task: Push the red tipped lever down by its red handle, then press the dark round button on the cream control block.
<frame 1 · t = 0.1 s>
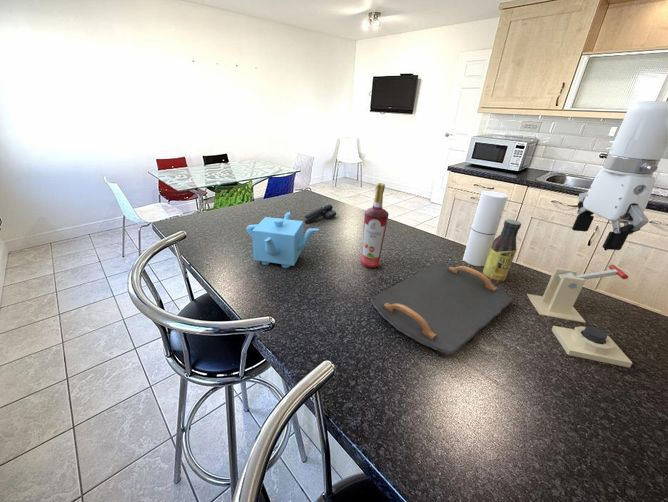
hand: (594, 239, 68), 23 cm above the kitchen island, tool pointing down, fingers open, 9 cm apart
dark round button: (594, 335, 65), point 4 cm above the kitchen island, slide at 0.1 cm
cylindrical container: (473, 263, 102), on the kitchen island
serving tray: (440, 307, 80), on the kitchen island
liquor: (369, 265, 99), on the kitchen island
red tipped lever: (589, 276, 74), point 12 cm above the kitchen island, hinge at 25.0°
teakettle: (281, 259, 102), on the kitchen island
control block: (586, 350, 67), on the kitchen island
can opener: (319, 219, 136), on the kitchen island
sauce bottle: (492, 280, 93), on the kitchen island
cream upright bracket stand: (552, 310, 80), on the kitchen island
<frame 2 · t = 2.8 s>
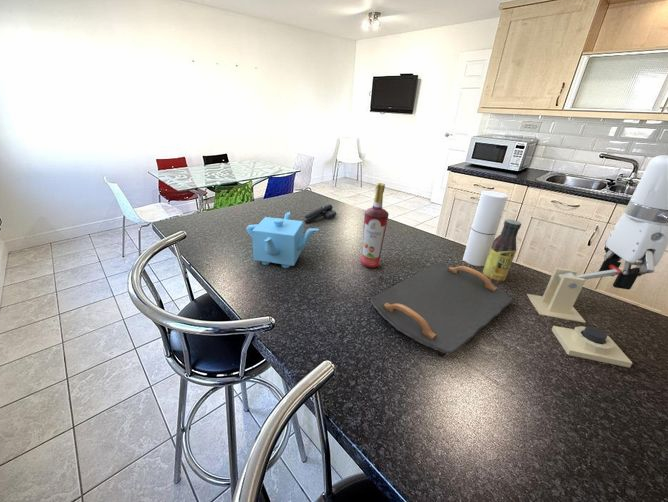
hand: (613, 280, 73), 12 cm above the kitchen island, tool pointing down, fingers closed on red tipped lever, 5 cm apart
red tipped lever: (589, 276, 74), point 12 cm above the kitchen island, hinge at 25.0°, touching gripper
everything else where it was.
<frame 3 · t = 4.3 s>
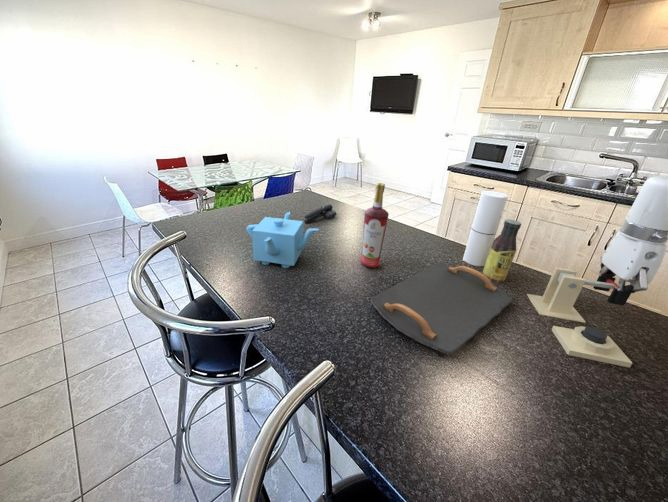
hand: (607, 295, 74), 7 cm above the kitchen island, tool pointing down, fingers closed on red tipped lever, 5 cm apart
red tipped lever: (588, 282, 74), point 10 cm above the kitchen island, hinge at 0.4°, touching gripper
everything else where it was.
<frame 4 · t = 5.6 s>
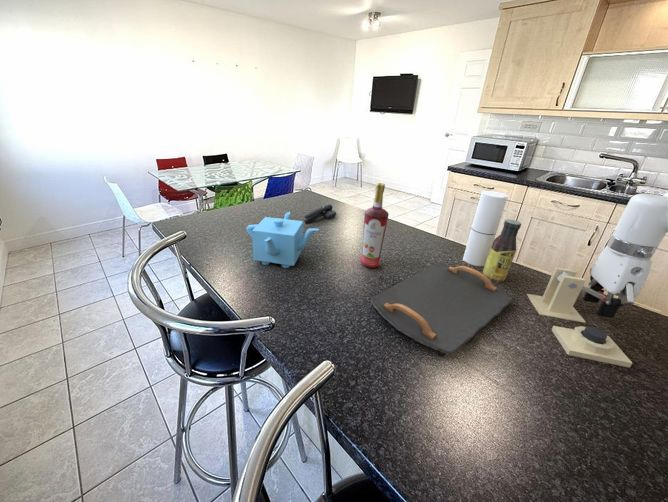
hand: (597, 307, 76), 3 cm above the kitchen island, tool pointing down, fingers open, 5 cm apart
red tipped lever: (584, 288, 75), point 8 cm above the kitchen island, hinge at -22.2°
everything else where it was.
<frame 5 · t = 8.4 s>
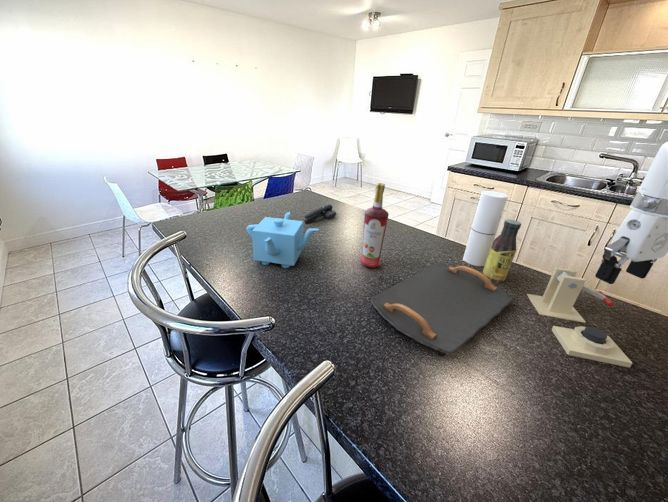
hand: (619, 277, 65), 16 cm above the kitchen island, tool pointing down, fingers open, 9 cm apart
nothing on the kitchen island moved.
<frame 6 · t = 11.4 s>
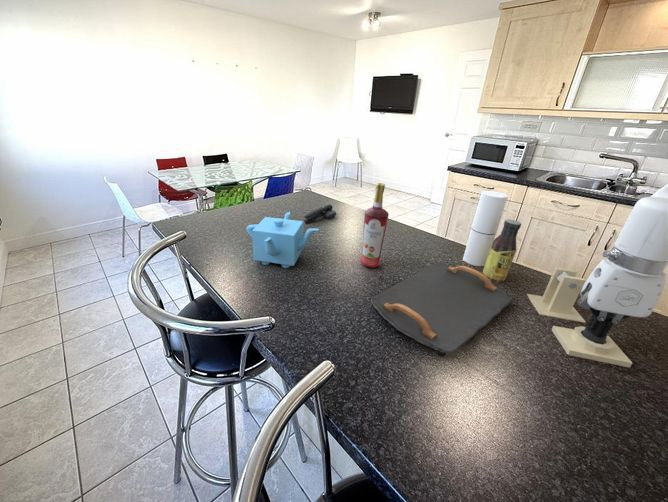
hand: (595, 332, 65), 5 cm above the kitchen island, tool pointing down, fingers closed
dark round button: (594, 335, 65), point 4 cm above the kitchen island, slide at 0.1 cm, touching gripper
everything else where it was.
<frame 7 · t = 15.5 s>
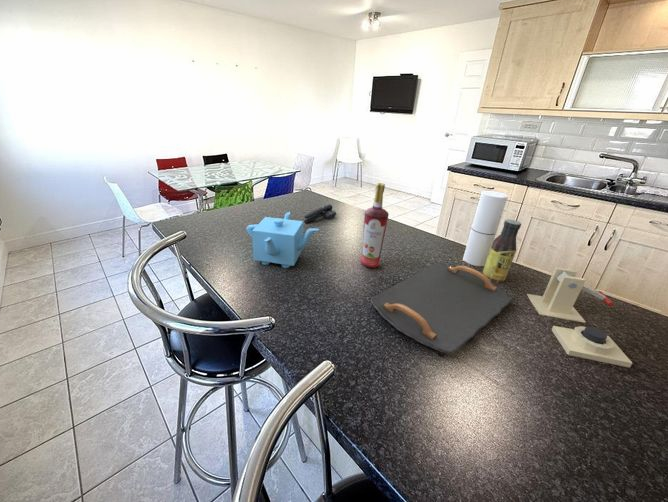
dark round button: (594, 335, 65), point 4 cm above the kitchen island, slide at 0.1 cm
everything else where it was.
at the end: red tipped lever at -22° (first picture: +25°); dark round button pushed in 1.1 cm at the most during the clip, back to where it started at the end; dark round button slide at 0.1 cm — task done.
